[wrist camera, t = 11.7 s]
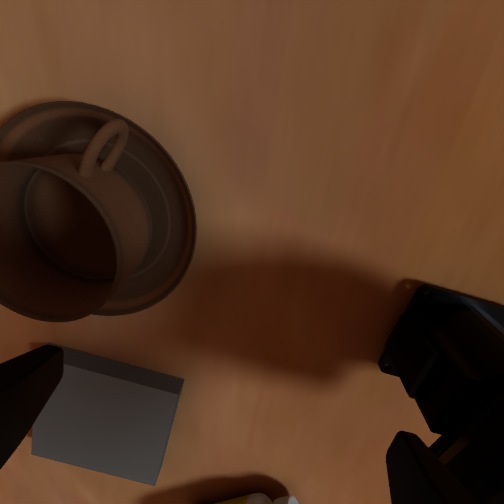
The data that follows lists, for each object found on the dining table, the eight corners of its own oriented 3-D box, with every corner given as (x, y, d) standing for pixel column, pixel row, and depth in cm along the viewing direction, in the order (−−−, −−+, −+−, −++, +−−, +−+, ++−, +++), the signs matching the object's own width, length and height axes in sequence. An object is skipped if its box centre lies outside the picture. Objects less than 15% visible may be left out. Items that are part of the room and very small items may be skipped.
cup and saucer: (2, 76, 17) (-132, 54, 12) (222, 136, 18) (197, 143, 12) (9, 274, 22) (-86, 328, 16) (184, 319, 22) (152, 387, 16)
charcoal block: (186, 374, 24) (178, 394, 23) (162, 462, 28) (154, 486, 26) (53, 338, 24) (35, 356, 22) (47, 432, 28) (31, 454, 26)
